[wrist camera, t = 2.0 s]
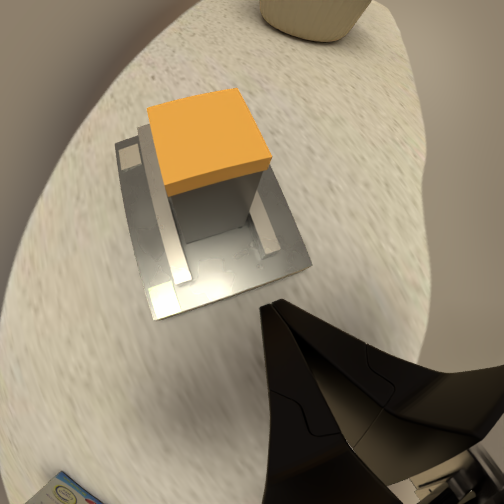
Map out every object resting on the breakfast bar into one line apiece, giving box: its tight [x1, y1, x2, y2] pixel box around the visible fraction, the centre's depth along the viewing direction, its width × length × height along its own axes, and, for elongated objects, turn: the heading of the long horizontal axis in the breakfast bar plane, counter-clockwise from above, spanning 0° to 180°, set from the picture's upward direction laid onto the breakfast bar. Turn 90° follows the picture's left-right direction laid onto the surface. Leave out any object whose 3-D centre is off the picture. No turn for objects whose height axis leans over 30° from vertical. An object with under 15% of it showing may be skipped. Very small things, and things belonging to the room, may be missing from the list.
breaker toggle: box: [147, 88, 272, 244], centre depth 14 cm, size 4×4×8 cm
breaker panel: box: [115, 124, 312, 320], centre depth 18 cm, size 14×11×4 cm
